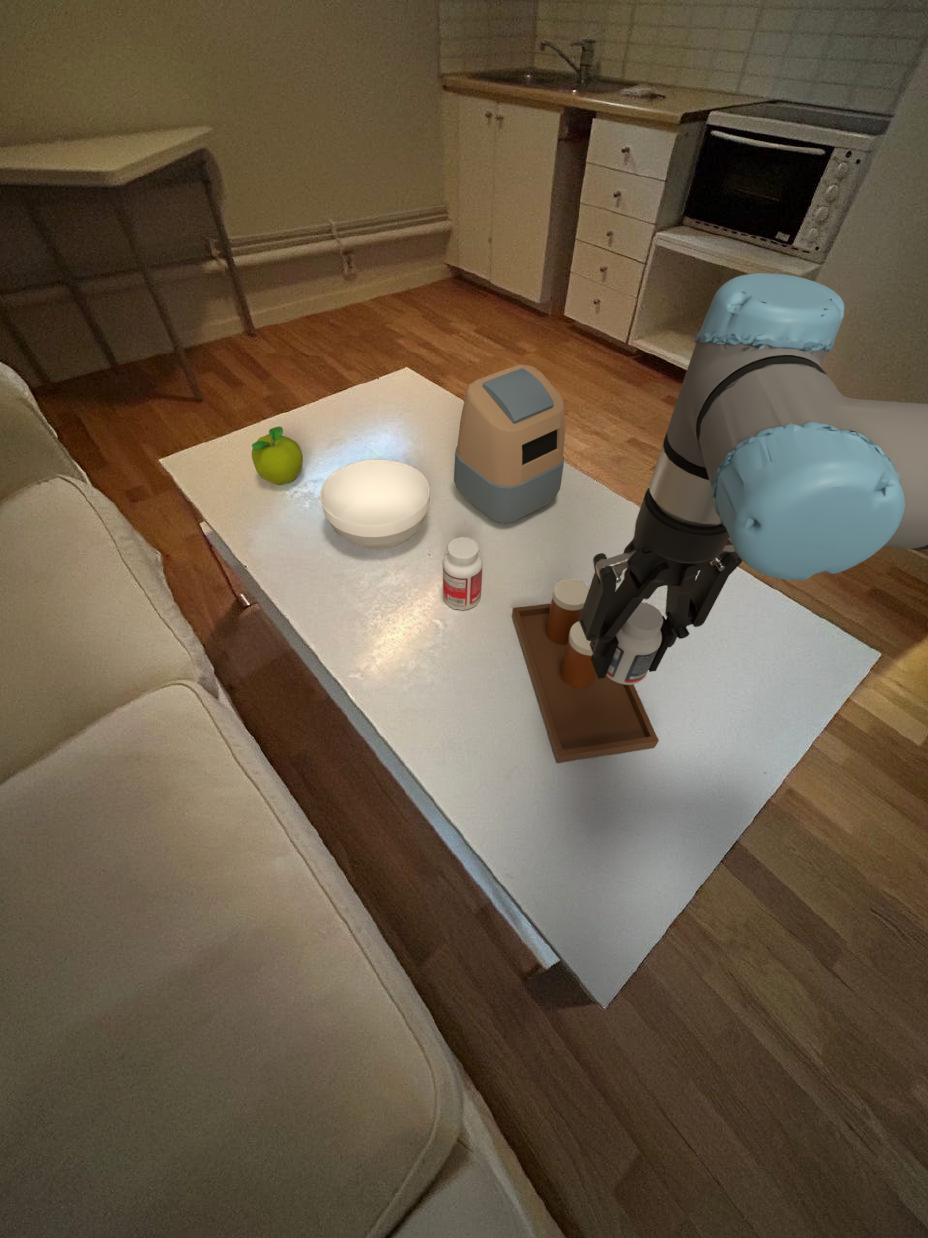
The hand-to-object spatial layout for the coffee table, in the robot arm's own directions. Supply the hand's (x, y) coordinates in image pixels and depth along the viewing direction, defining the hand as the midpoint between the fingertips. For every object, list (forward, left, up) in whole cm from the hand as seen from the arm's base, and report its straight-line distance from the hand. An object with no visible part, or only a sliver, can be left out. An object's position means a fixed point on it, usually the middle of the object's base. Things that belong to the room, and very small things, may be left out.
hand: (623, 664), depth 61 cm
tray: (+9, 0, -16) cm, 18 cm away
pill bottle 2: (0, 0, 0) cm, 0 cm away
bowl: (+46, +26, -16) cm, 55 cm away
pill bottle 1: (+27, +14, -16) cm, 34 cm away
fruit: (+64, +44, -16) cm, 79 cm away
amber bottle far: (+17, 0, -15) cm, 23 cm away
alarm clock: (+52, +1, -16) cm, 55 cm away
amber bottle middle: (+9, 0, -15) cm, 18 cm away
